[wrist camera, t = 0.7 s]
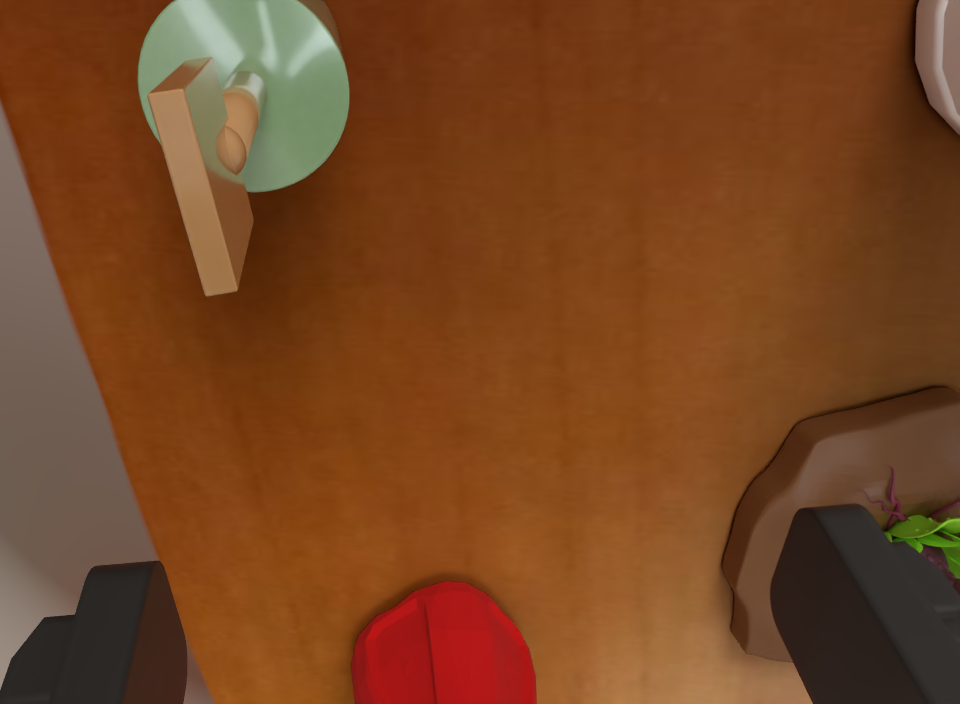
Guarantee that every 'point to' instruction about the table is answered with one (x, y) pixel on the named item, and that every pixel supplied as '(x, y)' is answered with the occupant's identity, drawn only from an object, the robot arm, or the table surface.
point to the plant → (850, 496)
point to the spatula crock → (240, 112)
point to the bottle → (940, 56)
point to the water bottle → (443, 652)
